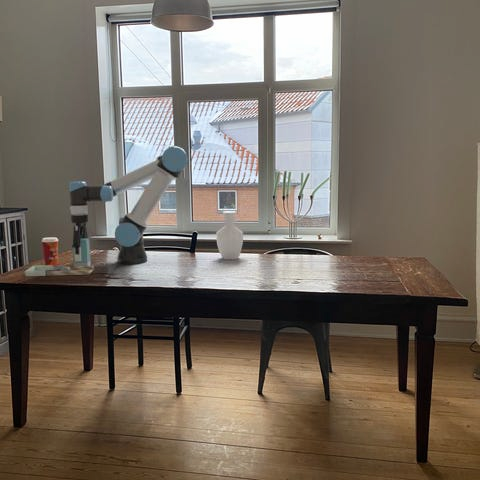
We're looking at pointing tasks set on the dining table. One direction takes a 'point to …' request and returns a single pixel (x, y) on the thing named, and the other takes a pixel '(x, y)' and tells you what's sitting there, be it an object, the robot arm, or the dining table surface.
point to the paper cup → (50, 250)
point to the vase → (229, 237)
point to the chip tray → (38, 270)
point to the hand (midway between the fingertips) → (81, 258)
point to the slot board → (73, 271)
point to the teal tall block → (83, 253)
